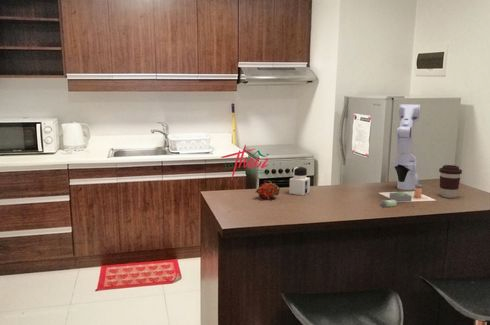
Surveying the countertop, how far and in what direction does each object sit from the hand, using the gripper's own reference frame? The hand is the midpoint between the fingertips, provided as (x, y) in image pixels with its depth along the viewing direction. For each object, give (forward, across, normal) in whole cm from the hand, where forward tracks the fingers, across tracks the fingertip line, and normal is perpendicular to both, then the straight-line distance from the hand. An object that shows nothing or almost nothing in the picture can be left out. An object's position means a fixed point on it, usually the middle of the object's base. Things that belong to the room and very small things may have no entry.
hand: (401, 181), depth 198 cm
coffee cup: (+10, -5, +28) cm, 30 cm away
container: (+10, -22, -42) cm, 48 cm away
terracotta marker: (+8, -2, +10) cm, 13 cm away
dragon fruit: (+10, -14, -60) cm, 62 cm away
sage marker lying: (+9, +9, -10) cm, 16 cm away
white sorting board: (+9, -5, +6) cm, 12 cm away
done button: (+8, 0, 0) cm, 8 cm away
